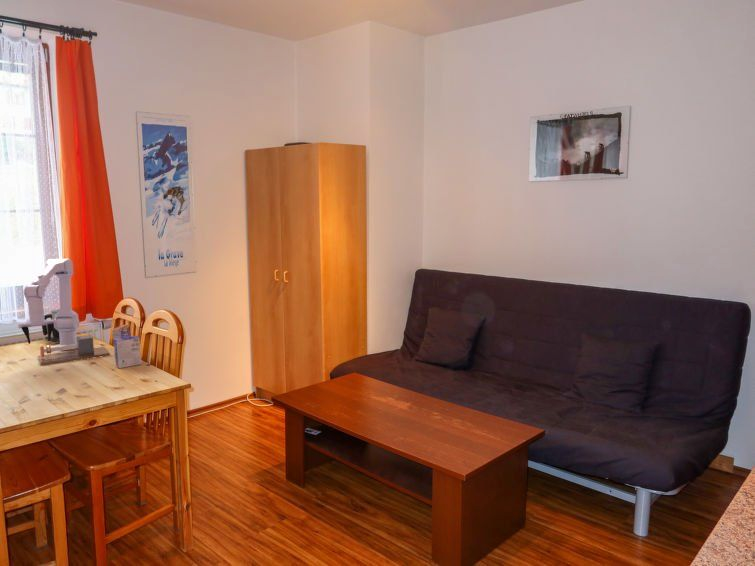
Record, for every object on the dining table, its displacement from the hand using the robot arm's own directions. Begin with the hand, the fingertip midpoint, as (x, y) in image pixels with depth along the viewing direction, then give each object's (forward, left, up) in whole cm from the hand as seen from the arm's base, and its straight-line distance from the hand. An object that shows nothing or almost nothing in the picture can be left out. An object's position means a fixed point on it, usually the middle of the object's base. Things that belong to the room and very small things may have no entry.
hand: (39, 342), depth 264 cm
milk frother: (-43, +11, -10) cm, 45 cm away
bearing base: (-3, +13, -10) cm, 17 cm away
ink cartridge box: (+26, +31, -10) cm, 42 cm away
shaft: (-3, +10, -7) cm, 12 cm away
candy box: (+16, +31, -10) cm, 37 cm away
